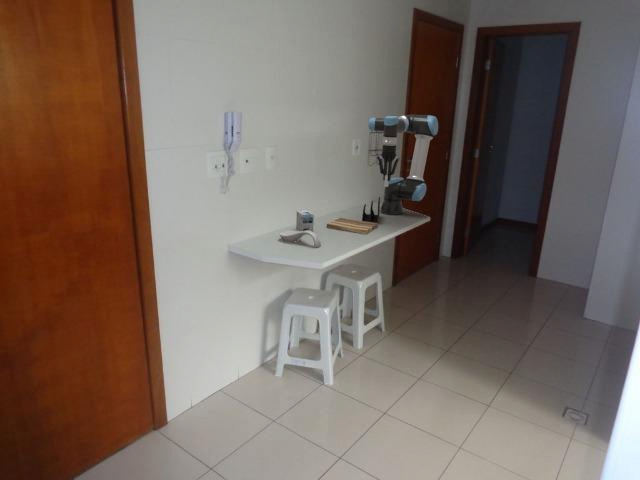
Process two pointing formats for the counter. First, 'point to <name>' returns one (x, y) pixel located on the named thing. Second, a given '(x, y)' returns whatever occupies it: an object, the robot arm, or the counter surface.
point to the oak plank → (349, 227)
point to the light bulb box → (304, 220)
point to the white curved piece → (299, 236)
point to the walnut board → (358, 222)
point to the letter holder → (371, 214)
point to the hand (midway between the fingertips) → (386, 186)
